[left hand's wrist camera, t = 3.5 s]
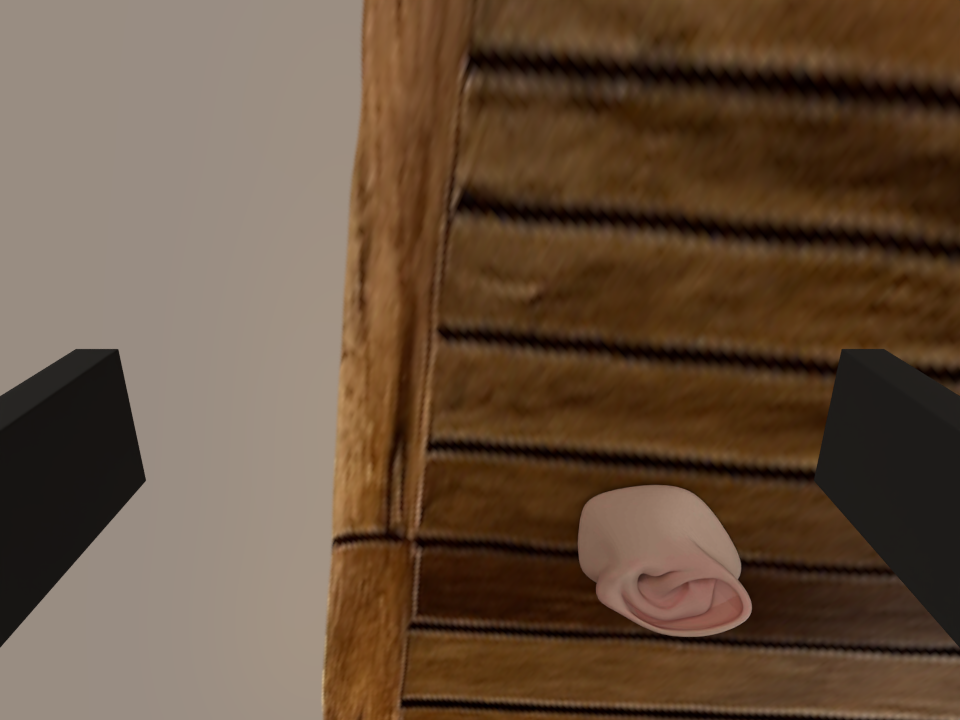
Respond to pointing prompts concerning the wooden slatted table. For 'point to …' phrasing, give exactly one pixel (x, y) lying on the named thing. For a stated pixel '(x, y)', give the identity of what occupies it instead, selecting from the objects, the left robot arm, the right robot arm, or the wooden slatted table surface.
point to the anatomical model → (662, 561)
